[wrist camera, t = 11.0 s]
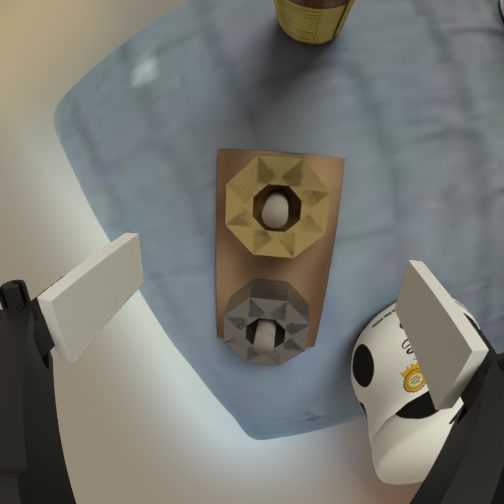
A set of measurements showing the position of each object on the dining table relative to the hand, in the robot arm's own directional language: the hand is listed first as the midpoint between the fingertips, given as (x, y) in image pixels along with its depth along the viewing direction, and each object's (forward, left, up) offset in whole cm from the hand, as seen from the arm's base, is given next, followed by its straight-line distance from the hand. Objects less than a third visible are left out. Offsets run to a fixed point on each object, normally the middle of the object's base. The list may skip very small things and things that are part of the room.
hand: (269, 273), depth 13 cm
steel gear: (0, +13, -16) cm, 20 cm away
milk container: (-19, +16, -17) cm, 30 cm away
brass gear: (0, 0, -16) cm, 16 cm away
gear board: (0, +6, -17) cm, 18 cm away
